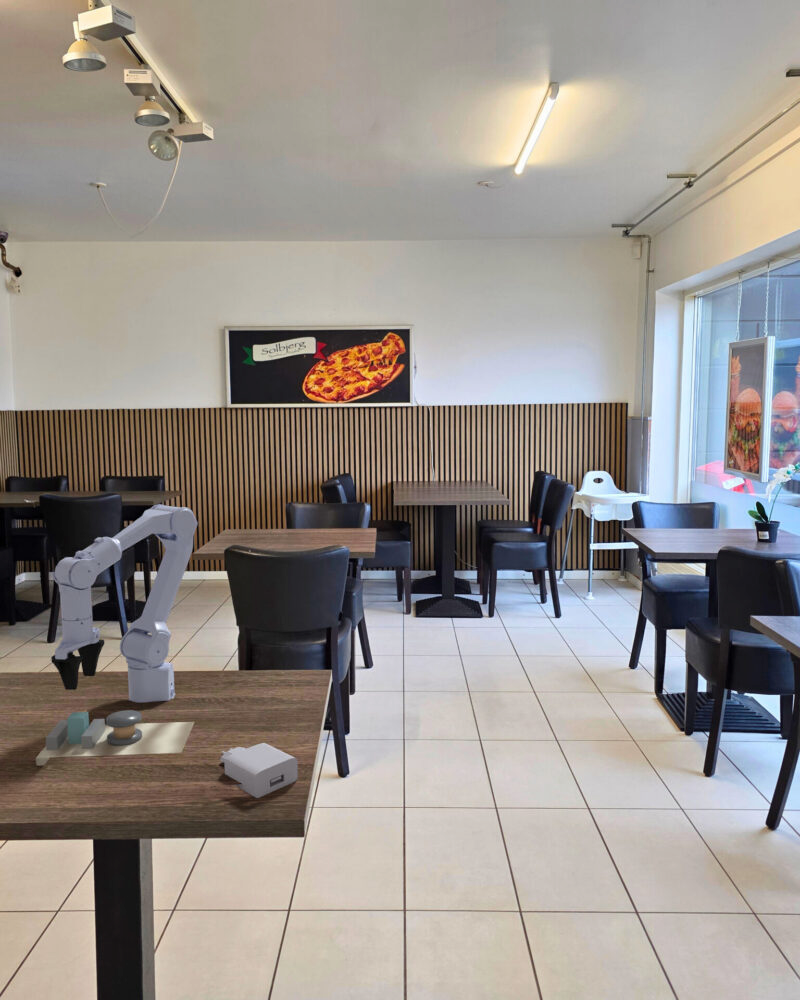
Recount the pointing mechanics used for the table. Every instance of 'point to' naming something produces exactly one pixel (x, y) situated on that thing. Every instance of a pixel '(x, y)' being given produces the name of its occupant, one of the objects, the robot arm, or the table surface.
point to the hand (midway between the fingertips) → (80, 682)
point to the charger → (260, 768)
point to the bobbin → (124, 728)
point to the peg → (77, 726)
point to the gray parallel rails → (87, 738)
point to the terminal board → (152, 742)
